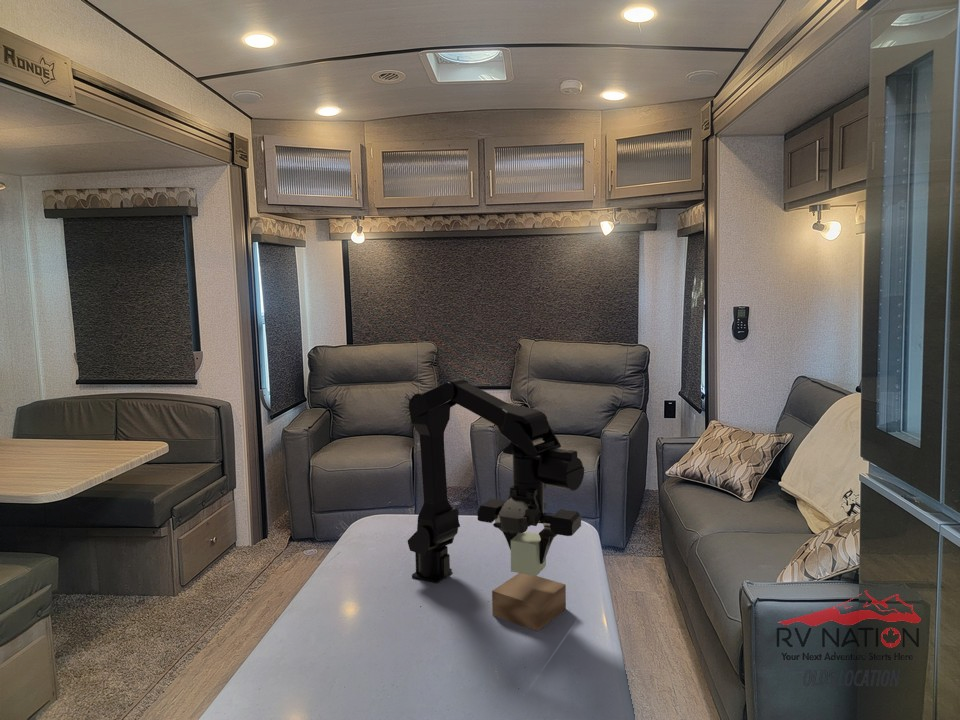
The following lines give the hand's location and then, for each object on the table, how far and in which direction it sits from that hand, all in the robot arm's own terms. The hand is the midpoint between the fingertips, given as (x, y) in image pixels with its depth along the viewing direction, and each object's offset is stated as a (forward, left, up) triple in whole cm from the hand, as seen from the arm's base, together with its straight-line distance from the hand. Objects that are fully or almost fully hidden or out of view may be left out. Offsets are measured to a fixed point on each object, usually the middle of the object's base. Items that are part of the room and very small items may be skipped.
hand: (528, 560), depth 123 cm
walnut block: (0, 0, -10) cm, 10 cm away
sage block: (0, 0, -2) cm, 2 cm away
